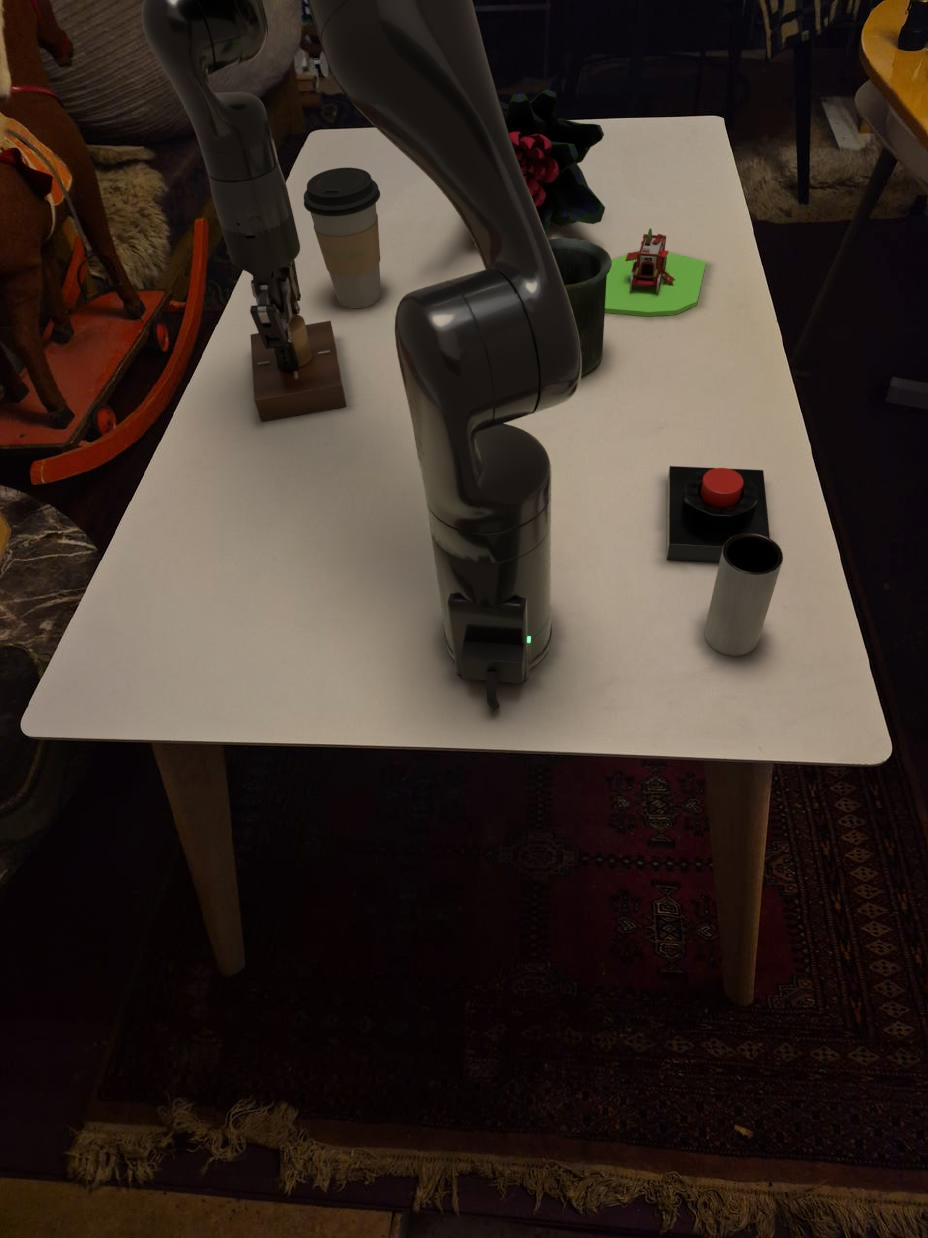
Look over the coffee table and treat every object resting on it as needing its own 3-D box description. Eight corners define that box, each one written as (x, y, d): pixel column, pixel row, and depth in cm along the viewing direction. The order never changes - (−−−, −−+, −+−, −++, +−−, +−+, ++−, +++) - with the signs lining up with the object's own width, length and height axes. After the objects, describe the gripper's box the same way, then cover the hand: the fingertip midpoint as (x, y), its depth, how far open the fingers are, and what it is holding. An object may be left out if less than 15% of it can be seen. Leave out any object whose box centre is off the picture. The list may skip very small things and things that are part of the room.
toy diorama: (707, 259, 114) (713, 213, 110) (693, 320, 105) (699, 272, 101) (595, 251, 118) (597, 206, 113) (572, 309, 109) (573, 262, 104)
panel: (346, 406, 99) (341, 383, 97) (261, 422, 99) (253, 399, 96) (335, 341, 108) (330, 318, 106) (256, 355, 108) (249, 332, 105)
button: (741, 508, 79) (744, 494, 77) (700, 506, 79) (703, 492, 78) (739, 482, 81) (742, 468, 80) (700, 480, 81) (702, 466, 80)
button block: (766, 566, 79) (775, 535, 76) (666, 560, 80) (671, 530, 77) (759, 486, 86) (767, 455, 83) (667, 482, 87) (671, 451, 84)
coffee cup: (331, 321, 111) (306, 205, 100) (319, 286, 117) (294, 173, 106) (401, 306, 112) (385, 189, 101) (386, 272, 118) (369, 158, 107)
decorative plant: (565, 260, 135) (574, 313, 110) (410, 195, 131) (383, 235, 106) (625, 118, 124) (650, 142, 99) (456, 42, 120) (439, 47, 95)
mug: (601, 387, 98) (606, 289, 89) (476, 380, 101) (469, 284, 91) (610, 334, 105) (616, 238, 95) (493, 329, 107) (487, 235, 98)
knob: (315, 363, 100) (307, 326, 96) (278, 372, 99) (268, 335, 96) (308, 343, 103) (300, 307, 99) (272, 352, 102) (262, 315, 98)
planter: (750, 613, 75) (774, 529, 67) (764, 654, 72) (790, 572, 65) (699, 617, 76) (716, 534, 68) (710, 658, 73) (729, 576, 65)
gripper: (232, 183, 93) (271, 325, 106) (204, 248, 84) (251, 395, 97) (300, 178, 92) (331, 322, 105) (280, 243, 83) (316, 392, 96)
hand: (292, 356), depth 101 cm, fingers closed on knob, 4 cm apart
